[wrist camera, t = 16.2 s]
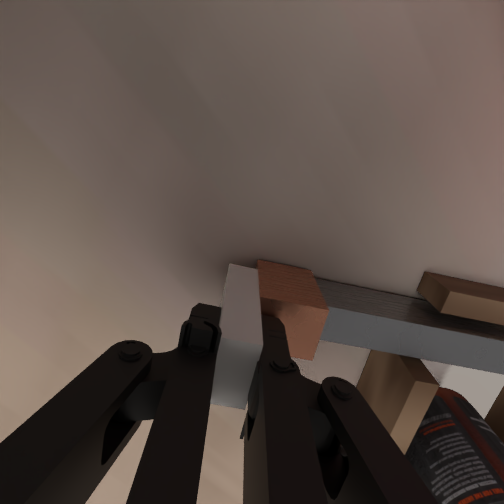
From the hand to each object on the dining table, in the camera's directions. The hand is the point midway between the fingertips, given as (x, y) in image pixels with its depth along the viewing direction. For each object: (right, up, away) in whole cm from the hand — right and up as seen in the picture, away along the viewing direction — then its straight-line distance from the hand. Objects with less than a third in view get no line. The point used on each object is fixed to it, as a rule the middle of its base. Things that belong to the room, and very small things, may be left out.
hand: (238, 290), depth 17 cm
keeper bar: (+8, -1, +2) cm, 8 cm away
